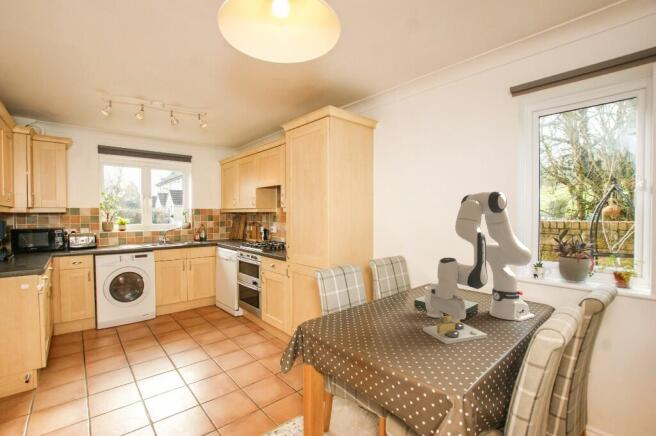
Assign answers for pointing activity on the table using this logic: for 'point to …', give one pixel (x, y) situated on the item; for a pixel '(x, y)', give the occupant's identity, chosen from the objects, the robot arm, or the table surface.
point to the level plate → (464, 334)
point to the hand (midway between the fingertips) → (447, 322)
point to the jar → (431, 311)
